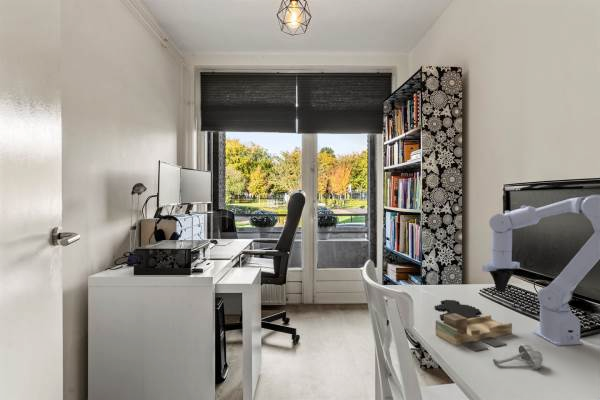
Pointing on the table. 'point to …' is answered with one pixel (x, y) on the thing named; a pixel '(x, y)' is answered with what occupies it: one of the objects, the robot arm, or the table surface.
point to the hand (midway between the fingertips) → (500, 291)
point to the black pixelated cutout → (457, 309)
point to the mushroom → (524, 356)
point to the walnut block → (456, 322)
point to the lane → (475, 332)
